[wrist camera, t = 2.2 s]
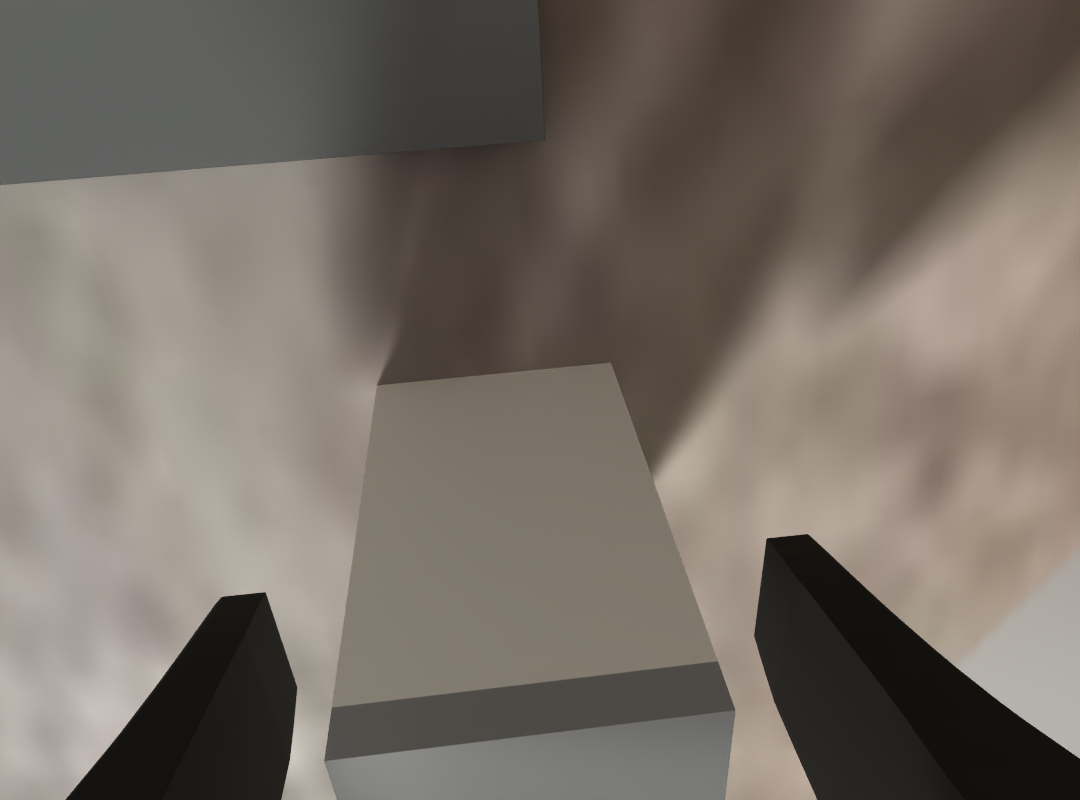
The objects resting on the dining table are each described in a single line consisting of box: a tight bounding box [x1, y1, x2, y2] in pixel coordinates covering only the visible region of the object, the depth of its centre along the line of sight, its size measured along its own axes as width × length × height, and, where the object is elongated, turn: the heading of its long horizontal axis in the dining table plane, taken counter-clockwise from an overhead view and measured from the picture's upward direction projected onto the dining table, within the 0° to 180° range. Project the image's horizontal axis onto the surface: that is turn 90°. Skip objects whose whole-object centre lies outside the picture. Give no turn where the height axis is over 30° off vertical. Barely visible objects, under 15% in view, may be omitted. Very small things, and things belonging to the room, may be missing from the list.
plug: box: [325, 363, 735, 800], centre depth 12 cm, size 4×4×7 cm
